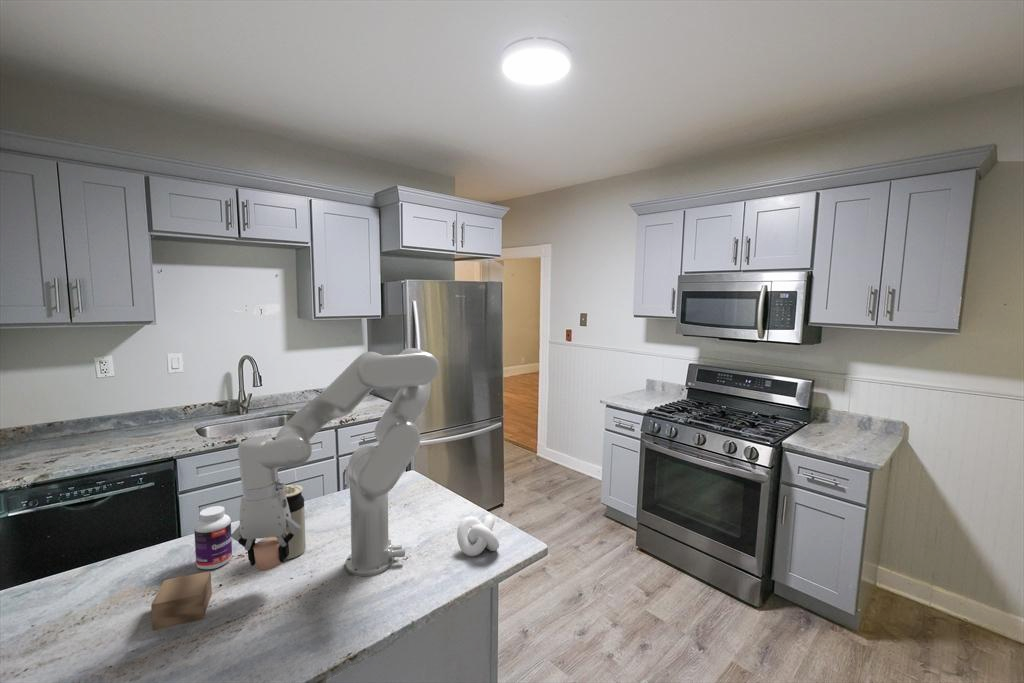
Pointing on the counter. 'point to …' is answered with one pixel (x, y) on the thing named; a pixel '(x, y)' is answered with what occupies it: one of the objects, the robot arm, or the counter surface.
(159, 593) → the walnut box
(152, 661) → the counter surface
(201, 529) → the pill bottle
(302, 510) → the travel mug
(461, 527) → the white knot sculpture
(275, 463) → the robot arm
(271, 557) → the peach rounded cylinder
